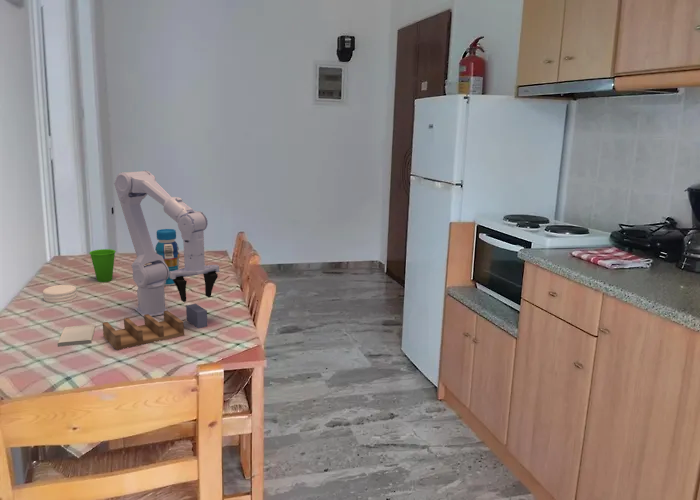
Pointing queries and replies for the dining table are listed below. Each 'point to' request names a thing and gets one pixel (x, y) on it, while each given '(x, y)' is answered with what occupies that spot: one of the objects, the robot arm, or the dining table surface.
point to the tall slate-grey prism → (196, 315)
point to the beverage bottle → (168, 251)
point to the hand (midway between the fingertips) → (196, 298)
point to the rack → (143, 331)
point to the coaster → (59, 293)
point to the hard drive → (76, 335)
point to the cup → (103, 264)
